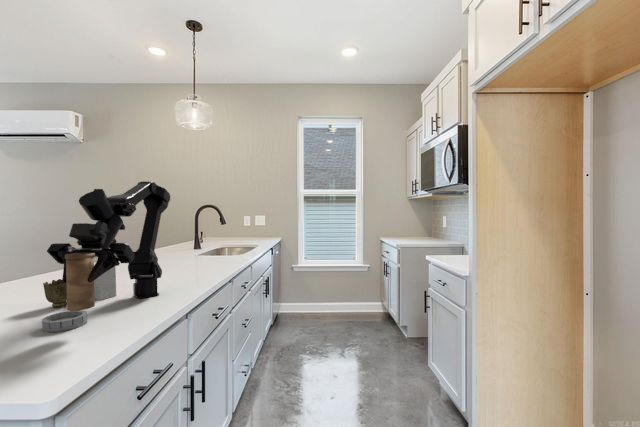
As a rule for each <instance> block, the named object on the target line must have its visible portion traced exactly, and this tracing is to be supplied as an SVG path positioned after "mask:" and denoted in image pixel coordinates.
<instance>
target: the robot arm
mask: <svg viewBox="0 0 640 427" xmlns="http://www.w3.org/2000/svg"><path fill="white" fill-rule="evenodd" d="M142 201H143V202H142ZM170 201H171V194H170V192H169V191H168V190H167V189H166V188H164V187H162V186H160V185H158V184H156V182H154V181H139V182H137V184H136V185H134V186H133V187H131V188H130V189H128V190H127V191H125V192H124V193H121V194H117V195H111V196H107V194H106V192H105V191H104V189H103V188H94V189H93V191H90V192H87V193H85V194H84V195H82V196H80V197H79V199H78V203H79V205H80V206H81V208H82V209H83V210H84V211H85V213H86V214H87V216H88V217H89V219H90V220H93V221H96V223H87V222H85V223H82V222H81V223H72V225H71V228H70V232H69V234H68V236H69V237H70V238H74V239H76V240H77V241H76V244H77V245H78V246H81V247H74V246H72V245H71V243H70V242H68V243H67V242H63V243H62V242H61V243H60V242H59V243H51V244H50V245H49V247H48V248H47V250H46V252H47V253H48V254H49V255H50V257H52V259H54V261H56V262H57V264H60V265H63V271H62V277H61V278H62V279H61V280H62V281H63V282H64V283H66V259H65V255H66V254H72V253H82V252H94V253H95V257H94V258H97V260H96V262H95V263H94V267H93V269H92V271H91V273H90V275H89V278H88V282H89V283H91V282H93V281H94V280H95V279H97V278H98V277H99V276H101V275H102V274H104V273H105V272H107V271H108V270H110V269H111V268H113V267H115V268H116V267H117V266H119V265H120V264H128V265H127V270H128V275H129V279H130V280H135V281H134V283H133V284H132V285H133V289H132V291H133V296H134V297H135V298H136V299H139V300H140V299H144V298H146V299H147V298H152V297H156V296H159V295H160V293H159V292H158V279H161V278H162V274H163V269H162V268H161V266H160V264H159V262H158V261H159V259H158V256H157V254H156V251H155V248H156V243H157V238H158V233H159V228H160V222H161V217H162V213H163V212H165V211H166V209H167V208H169V207H168V206H169V202H170ZM140 202H142V203H143V206H144V208H145V209H146V212H145V217H144V223H143V228H142V232H141V235H140V236H141V237H140V242H139V244H138V245H139V246H138V248H137V249H136V251H133V249H132V248H131V246H130V245H129V243H128V242H118V241H117V240H116V237H117V235H118V234H119V231H125V230H126V225H125V224H124V221H123V219H122V218H123V217H125V218H126V217H131V216H133V214H134V213H135V211H137V208H136V207H137V205H138V204H139V203H140Z"/></svg>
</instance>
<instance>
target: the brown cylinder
mask: <svg viewBox="0 0 640 427" xmlns="http://www.w3.org/2000/svg"><path fill="white" fill-rule="evenodd" d="M95 258H96V257H95V253H94V252H82V253H72V254H66V255H65V259H66V283H67V305H66V310H67V311H80V310H83V311H86V310H88V309H89V310H90V309H92V308H93V307H95V306H96V299H95V288H94V281H93V282H91V283H89V282H88V278H89V275H90V273H91V271H92V269H93V267H94V266H95Z"/></svg>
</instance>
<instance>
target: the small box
mask: <svg viewBox="0 0 640 427" xmlns="http://www.w3.org/2000/svg"><path fill="white" fill-rule="evenodd" d="M116 273H117V272H116V266H115V267H113V268H111V269H110V270H108V271H107V272H105V273H104V274H102V275H101V276H99V277H98V278H97V279H95V280H94V288H95V301H96V300H97V301H98V300H99V301H102V300H105V299H109V298H112V297H116V296H117V276H116Z"/></svg>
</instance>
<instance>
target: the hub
mask: <svg viewBox="0 0 640 427" xmlns="http://www.w3.org/2000/svg"><path fill="white" fill-rule="evenodd" d="M87 322H88V312H87V310H80V311H68V310H67V311H66V310H65V311H61V312H56V313H53V314H50V315H47V316H45V317H43V318H42V319H41V324H42V325H41V327H42V332H44V333H59V332H60V333H61V332H66V331H70V330H76V329H78V328H79V327H83V326H84V325H86V324H87Z"/></svg>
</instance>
